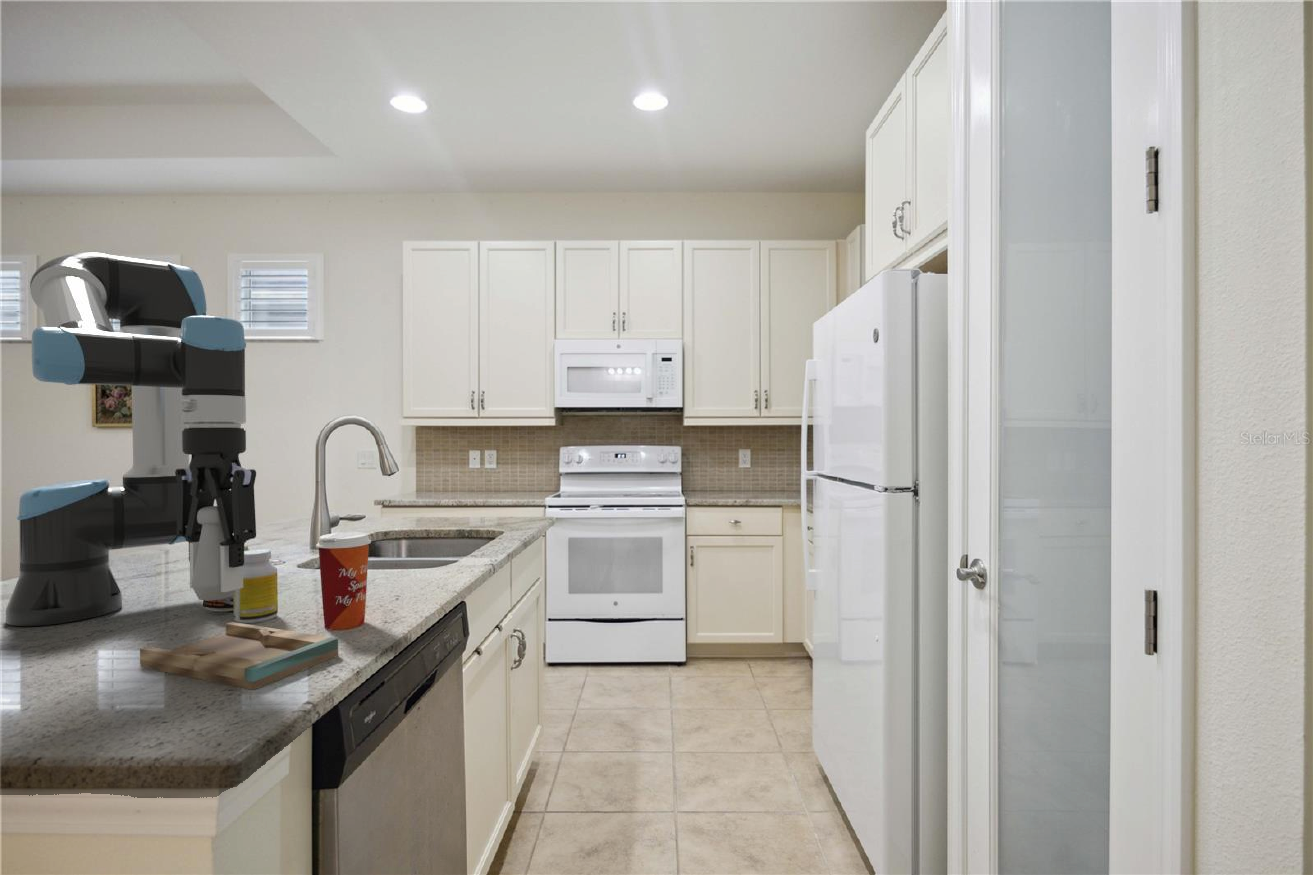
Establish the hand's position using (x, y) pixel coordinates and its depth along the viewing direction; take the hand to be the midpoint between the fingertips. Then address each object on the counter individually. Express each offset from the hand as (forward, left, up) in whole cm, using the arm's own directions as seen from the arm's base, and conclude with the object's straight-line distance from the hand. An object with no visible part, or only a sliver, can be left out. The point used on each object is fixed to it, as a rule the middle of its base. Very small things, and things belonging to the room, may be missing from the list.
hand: (216, 587), depth 92 cm
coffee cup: (+5, +18, -10) cm, 21 cm away
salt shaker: (0, 0, -2) cm, 2 cm away
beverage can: (-22, +17, -10) cm, 30 cm away
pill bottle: (-12, +15, -10) cm, 22 cm away
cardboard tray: (+5, 0, -10) cm, 11 cm away
